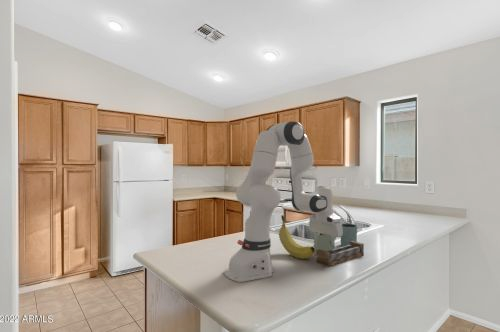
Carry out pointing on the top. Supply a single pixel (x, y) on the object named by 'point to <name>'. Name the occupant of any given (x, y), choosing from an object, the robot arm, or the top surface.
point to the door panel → (322, 243)
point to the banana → (293, 244)
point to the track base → (340, 254)
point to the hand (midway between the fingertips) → (325, 242)
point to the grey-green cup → (348, 234)
